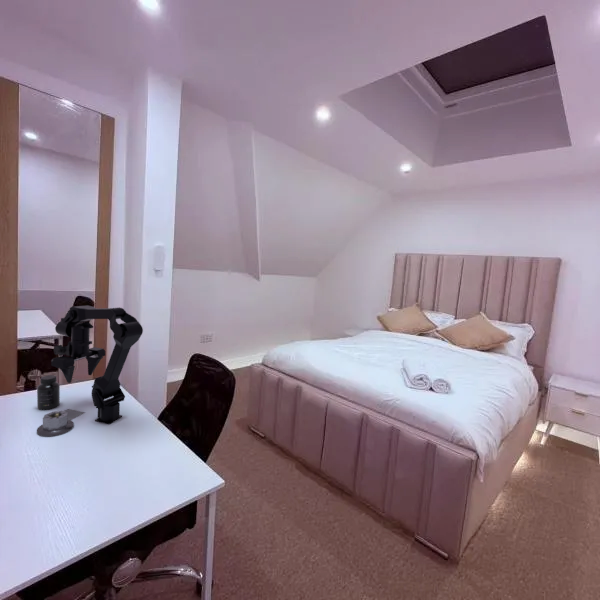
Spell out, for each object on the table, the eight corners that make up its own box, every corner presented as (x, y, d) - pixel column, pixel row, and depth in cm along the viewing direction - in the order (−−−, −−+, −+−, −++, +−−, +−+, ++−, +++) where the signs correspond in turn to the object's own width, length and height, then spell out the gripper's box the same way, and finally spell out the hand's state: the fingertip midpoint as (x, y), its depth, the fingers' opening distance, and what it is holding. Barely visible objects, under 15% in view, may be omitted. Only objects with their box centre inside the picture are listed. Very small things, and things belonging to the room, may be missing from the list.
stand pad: (85, 413, 123) (85, 412, 123) (66, 422, 115) (66, 421, 115) (68, 409, 124) (68, 408, 124) (48, 418, 117) (48, 418, 117)
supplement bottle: (40, 404, 127) (40, 374, 125) (61, 402, 130) (61, 373, 128) (34, 412, 120) (34, 380, 119) (57, 410, 123) (57, 379, 122)
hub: (81, 425, 114) (81, 414, 113) (54, 440, 104) (54, 427, 104) (57, 420, 116) (57, 409, 115) (28, 434, 106) (28, 422, 106)
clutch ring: (68, 420, 114) (68, 409, 114) (65, 429, 108) (65, 418, 108) (45, 423, 111) (45, 412, 111) (41, 432, 105) (41, 421, 105)
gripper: (83, 331, 134) (83, 368, 135) (38, 341, 115) (38, 383, 117) (106, 335, 131) (106, 372, 133) (64, 345, 113) (64, 388, 115)
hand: (79, 378), depth 124 cm, fingers open, 9 cm apart
